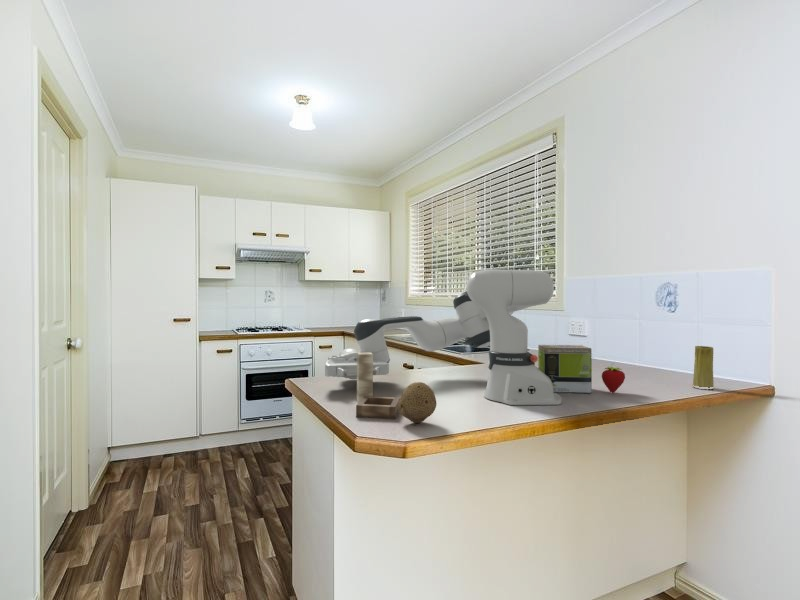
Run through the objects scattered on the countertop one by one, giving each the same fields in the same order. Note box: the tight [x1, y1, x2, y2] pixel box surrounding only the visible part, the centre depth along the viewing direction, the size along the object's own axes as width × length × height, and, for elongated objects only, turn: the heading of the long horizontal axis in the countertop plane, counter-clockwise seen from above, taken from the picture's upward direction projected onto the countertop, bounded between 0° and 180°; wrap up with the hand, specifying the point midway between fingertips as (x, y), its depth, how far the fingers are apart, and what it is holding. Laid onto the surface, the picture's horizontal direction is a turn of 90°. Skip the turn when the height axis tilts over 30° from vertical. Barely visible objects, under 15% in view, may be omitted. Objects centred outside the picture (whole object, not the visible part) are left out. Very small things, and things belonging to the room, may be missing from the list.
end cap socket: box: [355, 396, 401, 420], centre depth 118 cm, size 10×10×3 cm
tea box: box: [537, 344, 593, 394], centre depth 150 cm, size 15×10×15 cm
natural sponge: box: [398, 381, 437, 424], centre depth 109 cm, size 9×9×10 cm
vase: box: [692, 345, 715, 388], centre depth 155 cm, size 6×6×14 cm
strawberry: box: [601, 362, 626, 393], centre depth 146 cm, size 6×8×10 cm
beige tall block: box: [356, 352, 374, 404], centre depth 130 cm, size 4×4×14 cm
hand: (360, 372), depth 136 cm, fingers open, 8 cm apart
